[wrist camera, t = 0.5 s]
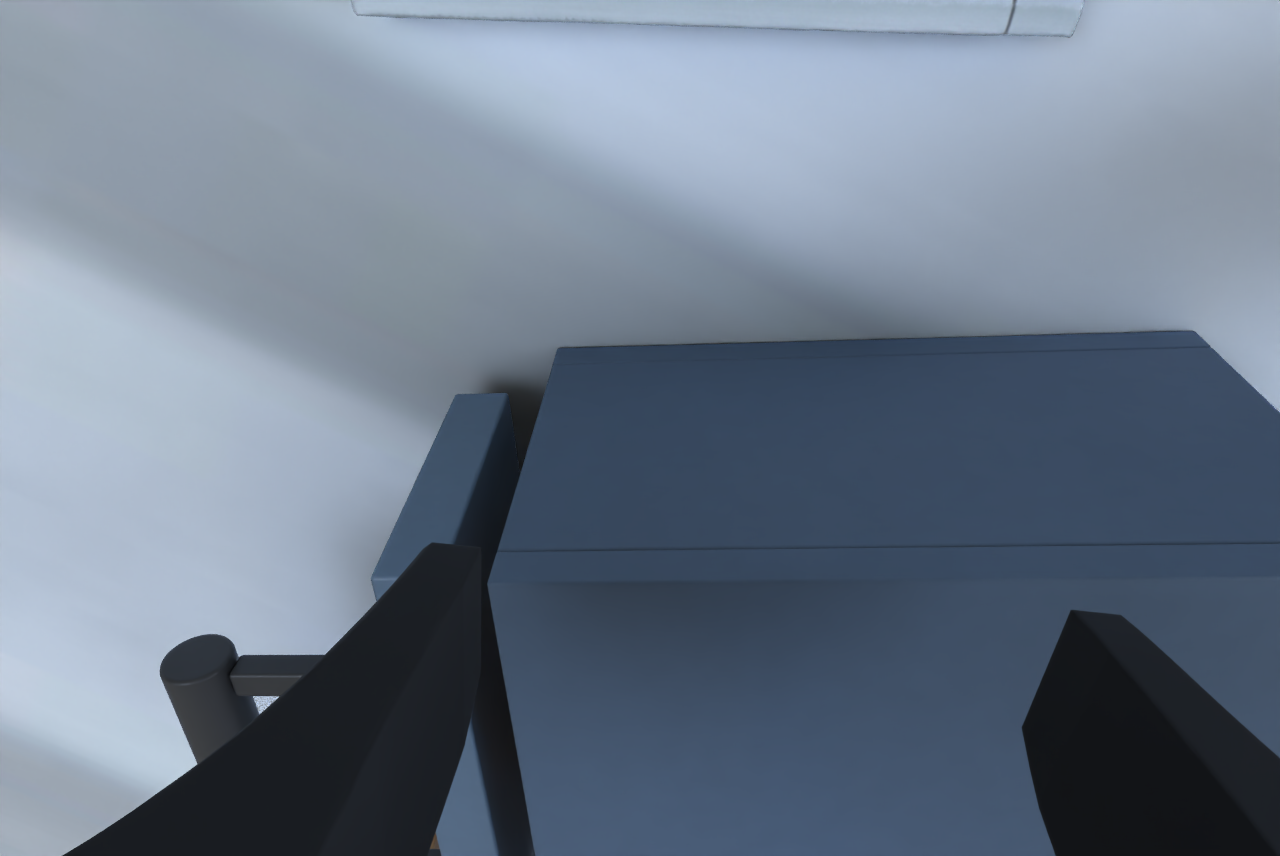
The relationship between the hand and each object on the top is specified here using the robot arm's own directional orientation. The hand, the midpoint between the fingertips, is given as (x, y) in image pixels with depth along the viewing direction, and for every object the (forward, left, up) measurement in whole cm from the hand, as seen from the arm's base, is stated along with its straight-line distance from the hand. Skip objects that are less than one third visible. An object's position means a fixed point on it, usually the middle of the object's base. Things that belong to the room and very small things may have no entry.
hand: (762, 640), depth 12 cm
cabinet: (-8, -3, -10) cm, 13 cm away
